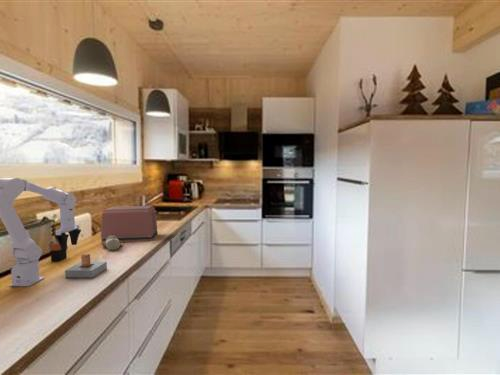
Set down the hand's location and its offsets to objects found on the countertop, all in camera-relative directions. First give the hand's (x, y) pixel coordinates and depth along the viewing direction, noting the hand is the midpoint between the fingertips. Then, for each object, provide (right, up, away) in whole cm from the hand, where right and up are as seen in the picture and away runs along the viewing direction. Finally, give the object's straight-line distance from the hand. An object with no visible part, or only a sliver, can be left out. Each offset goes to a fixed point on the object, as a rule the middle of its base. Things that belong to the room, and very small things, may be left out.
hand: (69, 246), depth 148 cm
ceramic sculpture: (+6, -8, +34) cm, 35 cm away
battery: (-13, -9, +14) cm, 21 cm away
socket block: (+13, -10, -8) cm, 18 cm away
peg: (+12, -10, -8) cm, 18 cm away
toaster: (+8, -6, +57) cm, 58 cm away
